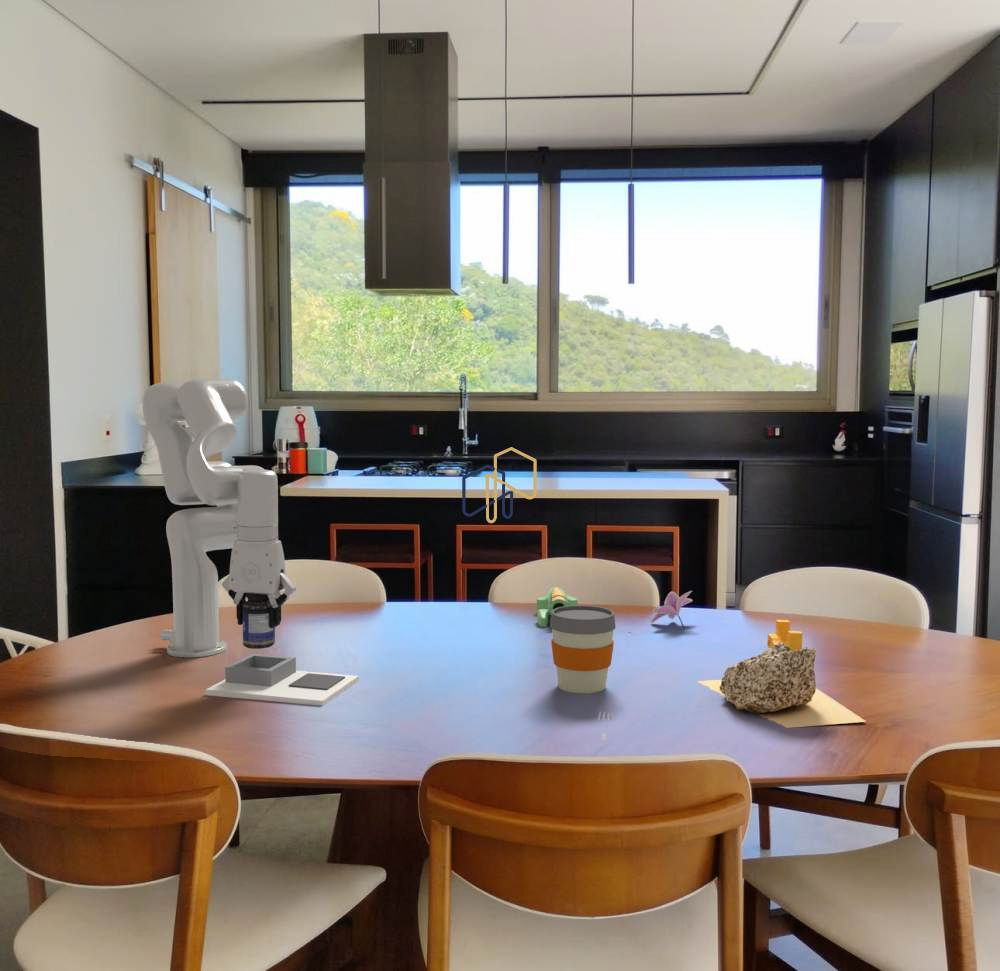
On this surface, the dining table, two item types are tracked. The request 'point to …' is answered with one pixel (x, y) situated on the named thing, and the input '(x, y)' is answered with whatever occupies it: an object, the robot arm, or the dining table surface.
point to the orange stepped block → (785, 636)
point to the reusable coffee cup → (582, 647)
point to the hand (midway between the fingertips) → (258, 623)
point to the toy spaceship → (552, 604)
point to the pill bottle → (257, 622)
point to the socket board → (279, 681)
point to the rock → (781, 689)
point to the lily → (672, 606)
